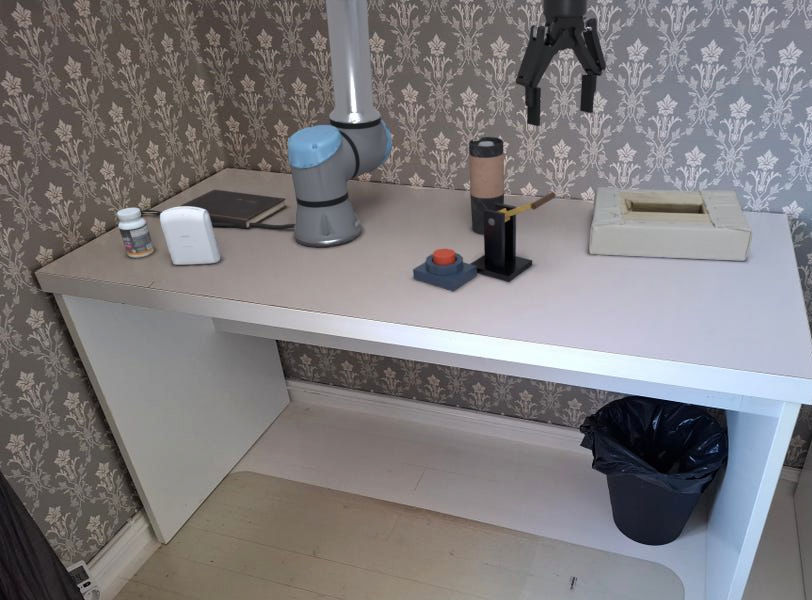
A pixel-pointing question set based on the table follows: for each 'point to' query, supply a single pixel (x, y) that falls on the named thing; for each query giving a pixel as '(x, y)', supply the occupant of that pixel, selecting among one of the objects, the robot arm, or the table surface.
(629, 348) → the table surface
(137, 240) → the pill bottle
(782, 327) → the table surface
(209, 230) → the photo printer
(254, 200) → the hardcover book
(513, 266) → the tap bracket
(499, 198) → the travel mug
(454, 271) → the button box
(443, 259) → the red button
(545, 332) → the table surface
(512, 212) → the tap lever
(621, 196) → the box
